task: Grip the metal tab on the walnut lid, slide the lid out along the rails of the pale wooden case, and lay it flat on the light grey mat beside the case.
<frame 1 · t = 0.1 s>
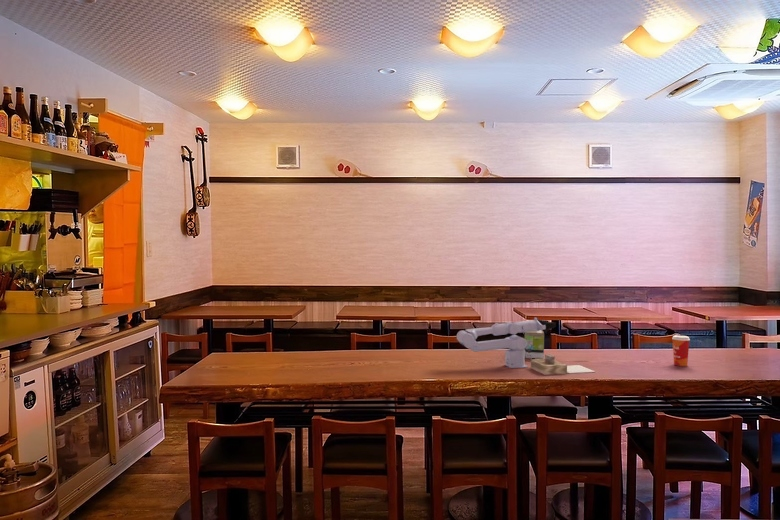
hand: (551, 323, 262), 22 cm above the table, tool horizontal, fingers open, 7 cm apart
coffee cup: (680, 365, 261), on the table
tea box: (533, 356, 284), on the table
lid: (549, 363, 249), point 3 cm above the table, touching case
mat: (574, 369, 251), on the table
case: (548, 370, 249), on the table
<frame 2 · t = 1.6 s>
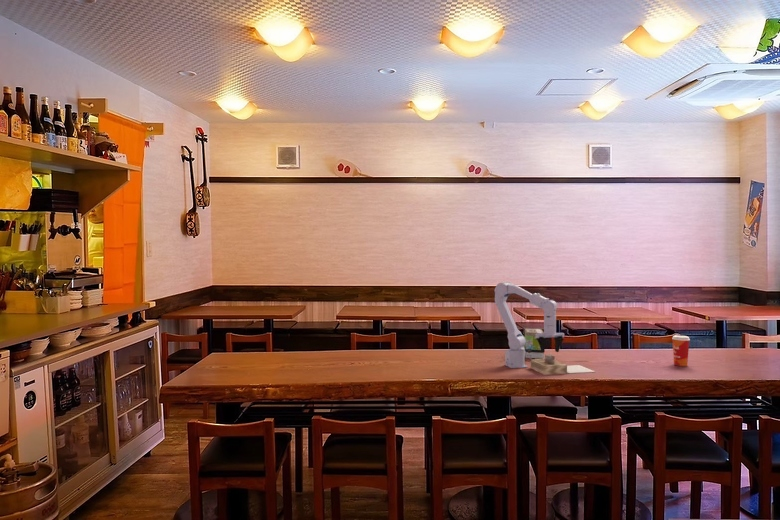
hand: (549, 351, 249), 9 cm above the table, tool pointing down, fingers open, 7 cm apart
nothing on the table moved.
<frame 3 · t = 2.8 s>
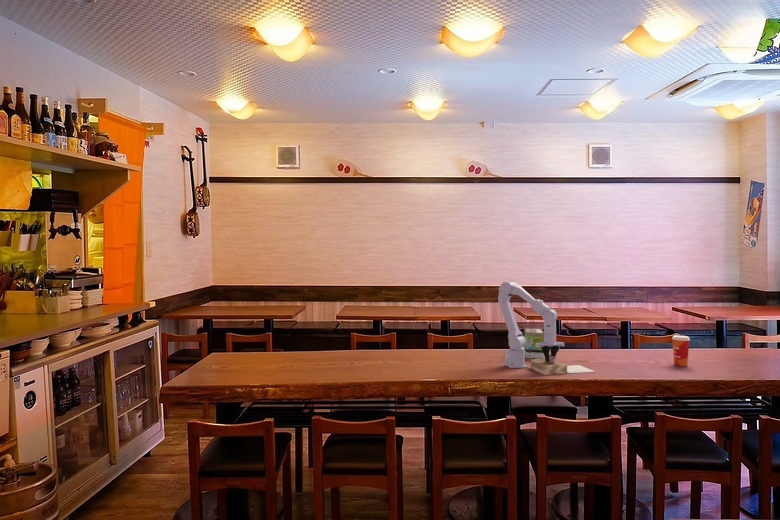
hand: (549, 361, 249), 5 cm above the table, tool pointing down, fingers closed on lid, 2 cm apart
lid: (549, 363, 249), point 3 cm above the table, touching case, gripper
everything else where it was.
when the fingers open (3 cm above the table, at t = 7.2 s): lid stays where it is, resting on mat.
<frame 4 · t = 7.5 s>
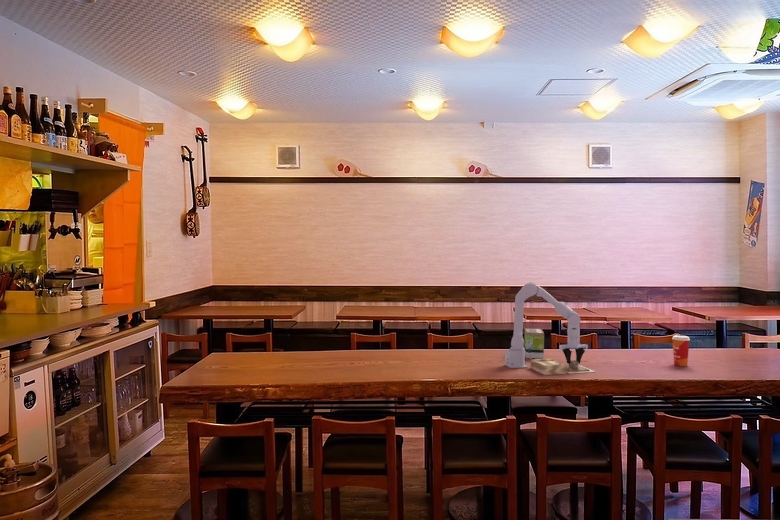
hand: (573, 363, 251), 3 cm above the table, tool pointing down, fingers open, 5 cm apart
lid: (573, 368, 251), resting on mat
everything else where it was.
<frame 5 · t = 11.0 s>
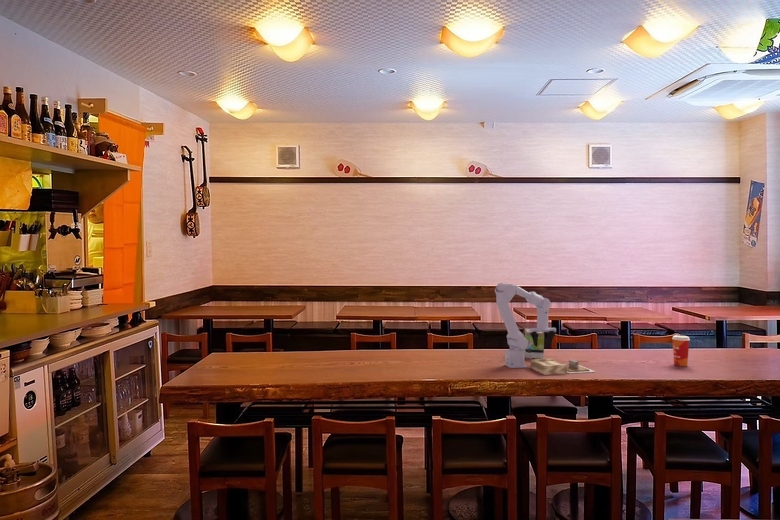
hand: (542, 345, 265), 9 cm above the table, tool pointing down, fingers open, 7 cm apart
nothing on the table moved.
at the end: lid inside the target area (0.1 cm from its centre), resting on mat; lid tilted 0°; lid touching mat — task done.
